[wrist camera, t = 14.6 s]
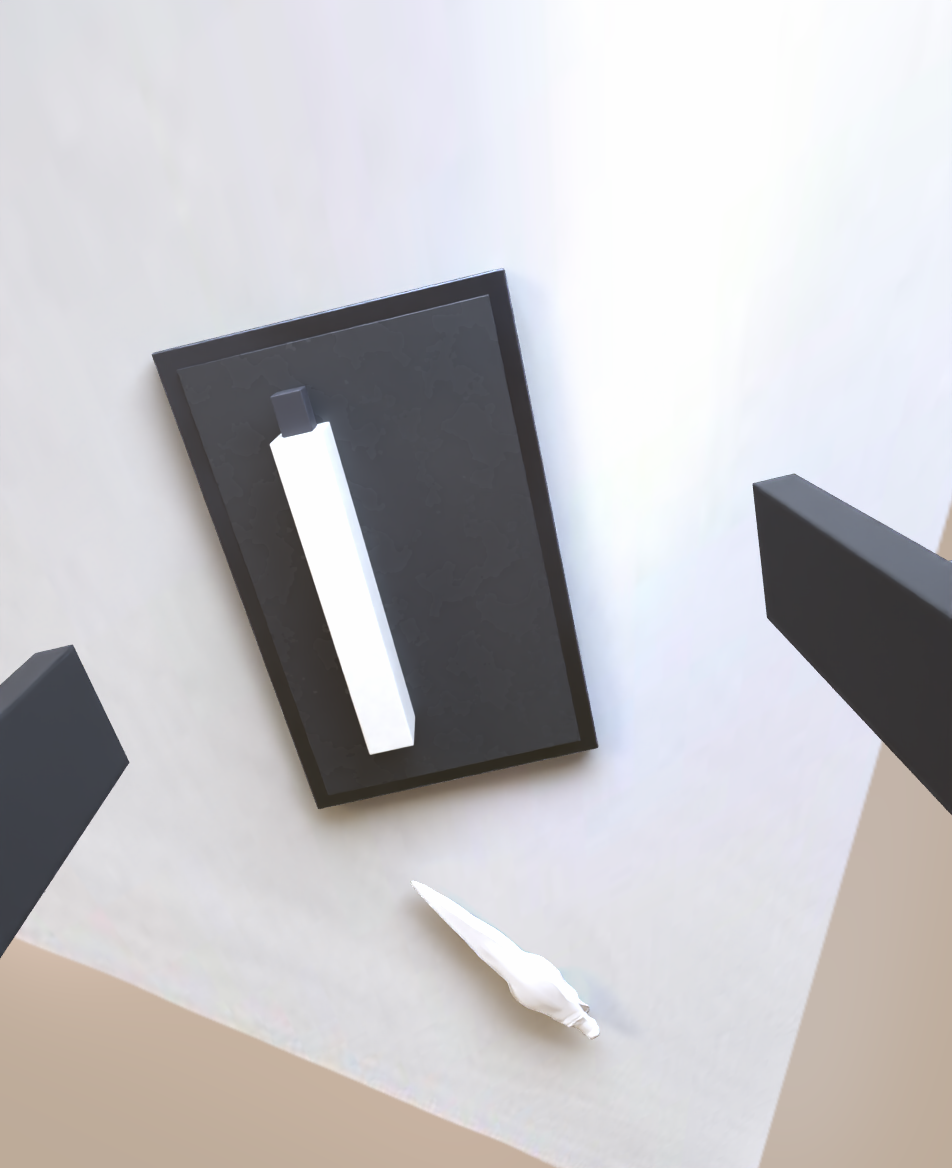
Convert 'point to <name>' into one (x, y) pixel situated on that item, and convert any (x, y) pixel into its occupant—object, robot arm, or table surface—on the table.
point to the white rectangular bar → (341, 571)
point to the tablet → (398, 529)
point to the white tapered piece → (516, 966)
